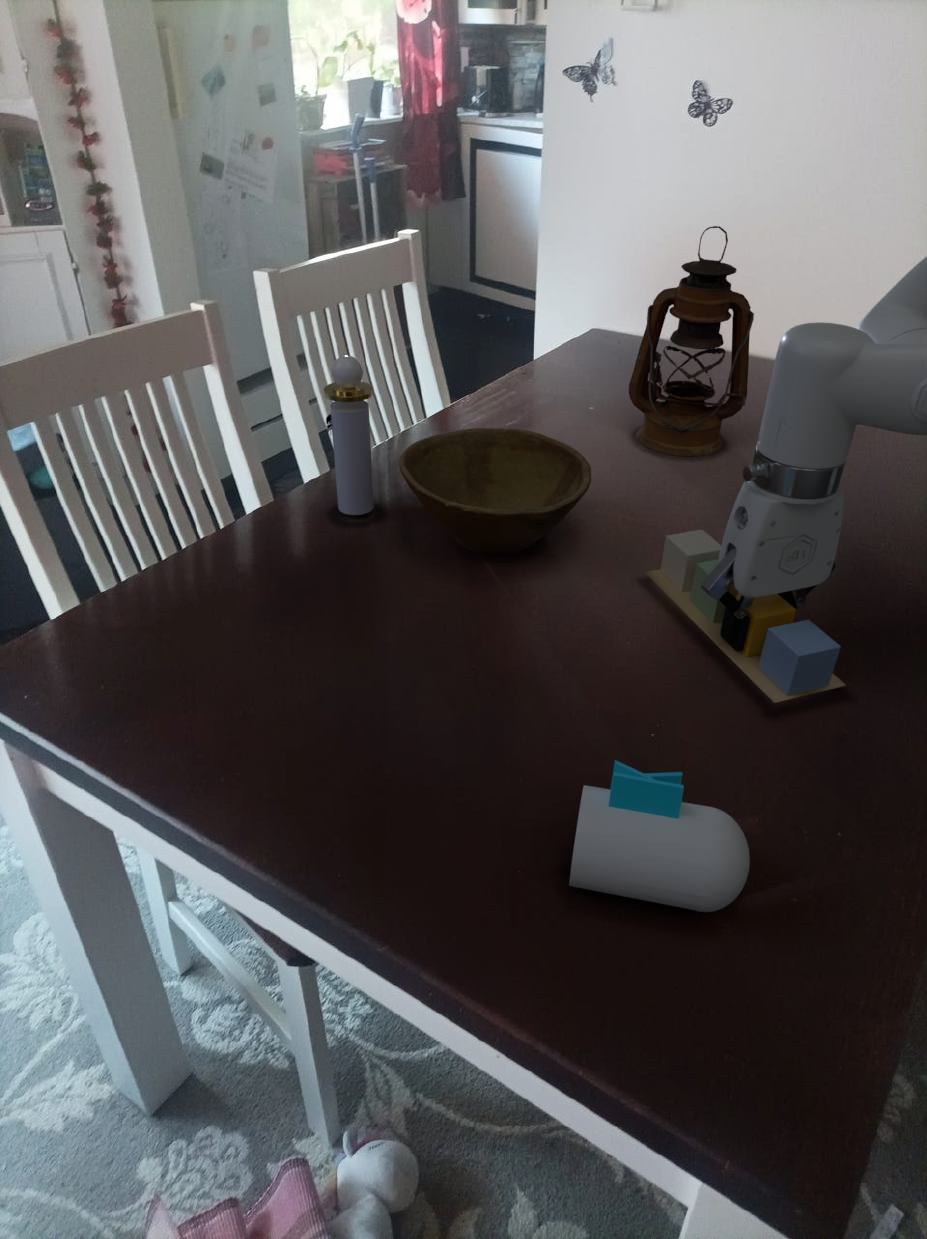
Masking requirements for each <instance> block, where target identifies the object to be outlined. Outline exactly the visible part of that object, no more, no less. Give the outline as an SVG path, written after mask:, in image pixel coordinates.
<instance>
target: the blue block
mask: <svg viewBox="0 0 927 1239" xmlns="http://www.w3.org/2000/svg"><path fill="white" fill-rule="evenodd" d="M841 648H842V646H841V645H840V644H839V643H837V642H836V641H835V640H834V639H833V638H831V636H829V635H828V634H827V633H825V632H824V631H823V630H822V629H821V628H820V627H818V626H817V625H816V624H815V623H813V621H811V620H810V619H805V620H800V621H794V623H791V624H786V625H781V626H777V627H772V628H768V631H767V635H766V639H765V643H764V646H763V650H762V654H761V658H760V662H759V666H758V667H759V668H760V669H761V670H762V671H763V672H764V673H765V674H766V675H767V676H768V677H769V678H770V679H771V680H772V681H773V682H774V683H775V684H776V685H777V686H778V687H779V688H780V689H781V690H782V691H783V692H784V693H785V694H786V695H787V696H789V695H793V694H797V693H801V692H805V691H809V690H813V689H818V688H822V687H826V686H828V685H829V682H830V679H831V676H832V673H833V674H834V670H835V666H836V664H837V661H838V658H839V654H840V651H841Z"/></svg>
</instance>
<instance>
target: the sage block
mask: <svg viewBox="0 0 927 1239" xmlns="http://www.w3.org/2000/svg"><path fill="white" fill-rule="evenodd" d="M718 560H719V559H716V560H711V561H706V562H700V563H696V568H695V573H694V578H693V584H692V589H691V594H690V601H691V602H692V603H693V604H694V605H695V606H696V607H697V608H698V609H699V610H700V611H701V612H702V613H703V614H704V615H706V616H707V617H708V618H709V619H710V620H711V621H712V622H713V623H714V622H719V621H723V617H724V613H725V608H726V607H725V606H724V605H723V604H722V603H721V602H719V601H717V600H716V599H714V598H712V597H711V596H709V595H708V594H707V593H706V592H705V591H704V590H703V589H702V588H701V585H702V583H703V582H704V581H705V579H706V578H707V577H708V576H709V575H710V573H711V572H712V571H713V570H714V569H715V567H716V566H717V565H718ZM730 579H731V578H730ZM730 579H729V581H730ZM729 581H728V582H727V583H726V584H725V586H724V588H725V589H726V587H727V585H728V583H729Z"/></svg>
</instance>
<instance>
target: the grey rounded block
mask: <svg viewBox="0 0 927 1239" xmlns="http://www.w3.org/2000/svg"><path fill="white" fill-rule="evenodd" d="M682 781H683V772H682V771H675V772H673V771H672V772H651V773H648V772H647V773H646V772H645V773H644V772H642V771H641V770H640V771H639V770H638V769H635V768H633V767H631V766H629V765H626V764H625V763H623V762H620V761H618V760H616V759H615V760H614V764H613V769H612V777H611V783H610V789H609V788H603V787H598V786H591V785H585V784H583V786H582V787H583V788H582V791H581V792H582V793H581V798H580V802H579V803H580V804H579V810H578V817H577V822H576V830H575V836H574V842H573V843H574V844H573V851H572V858H571V864H570V875H569V882H568V886H569V887H573V888H579V889H584V890H588V891H594V892H599V893H605V894H609V895H614V896H620V897H624V898H631V899H635V900H640V901H646V902H650V903H656V904H660V905H665V906H671V907H675V908H681V909H687V910H692V911H696V912H698V913H699V912H701V913H710V912H711V913H712V912H713V913H714V912H717V911H719V910H723V909H724V908H725V907H728V906H729V905H731V904H732V903H733V902H735V900H736V899H737V897H738V896H739V895H740V894H741V893H742V891H743V889H744V888H745V884H746V882H747V879H748V876H749V872H750V865H751V862H750V861H751V860H750V858H751V857H750V849H749V844H748V841H747V839H746V836H745V834H744V833H745V832H744V831H743V830H742V828H741V827H740V825H739V824H738V823H737V821H736V820H735V819H734V818H733V817H732V816H730V815H729V814H728V813H727V812H725V811H723V810H721V809H719V808H716V807H713V806H708V805H701V804H695V803H689V802H686V801H685V802H684V801H683V795H684V791H685V787H684V784H682Z"/></svg>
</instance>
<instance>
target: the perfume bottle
mask: <svg viewBox="0 0 927 1239" xmlns="http://www.w3.org/2000/svg"><path fill="white" fill-rule="evenodd" d="M331 377H332V379H333V381H334V382H331V383H329V384H327V385H325V386H324V387H323V396H324V397H325V398H326V399H327V400H329V401H332V402H331V403H330V404H329V407H330V414H328V415H327V416H326V418H325V422H326V433H327V434H326V435H327V436H328V433H329V432H330V433H331V436H332V447H333V449H332V450H333V461H334V472H335V475H334V476H335V486H336V487H335V488H336V499H337V509H338V511H339V512H340V513H342V514H344V515H349V516H361V515H365V514H367V513H370V512H371V511H373V509H374V508H375V500H374V481H373V461H372V460H373V459H372V444H371V440H372V439H371V423H370V421H371V420H370V404H369V403H368V401H366V400H368V399H370V398H371V397H373V395H374V387H373V385H372V384H370V383H368V382H366V381H362V380H363V377H364V368H363V365H362V364H361V362H360V361H359V360H358V359H357V358H356V357H354V356H352V355H341V356H339V357H338V358H337V359H335V361H334V362H333V364H332V367H331Z"/></svg>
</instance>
